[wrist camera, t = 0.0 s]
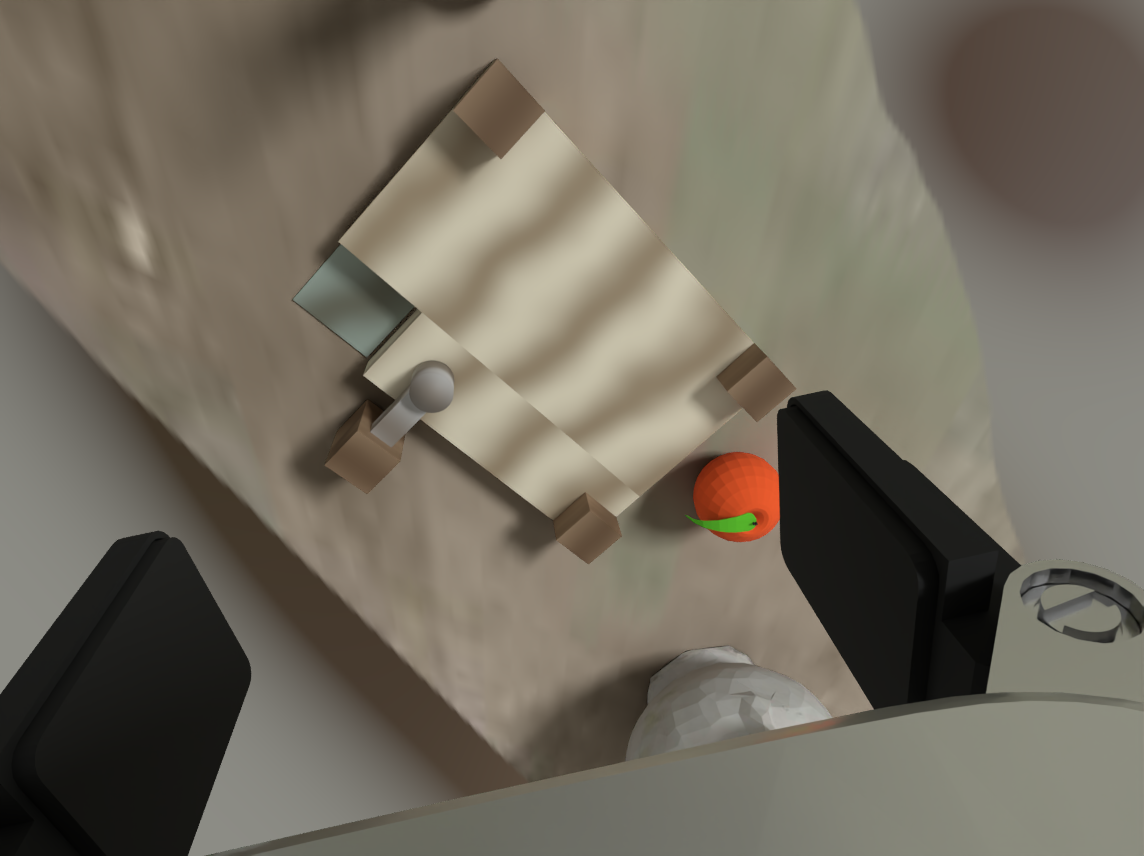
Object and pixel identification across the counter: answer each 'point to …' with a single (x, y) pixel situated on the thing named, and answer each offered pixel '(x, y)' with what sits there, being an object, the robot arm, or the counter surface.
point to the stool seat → (539, 315)
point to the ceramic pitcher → (717, 702)
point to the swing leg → (388, 427)
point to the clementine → (737, 497)
